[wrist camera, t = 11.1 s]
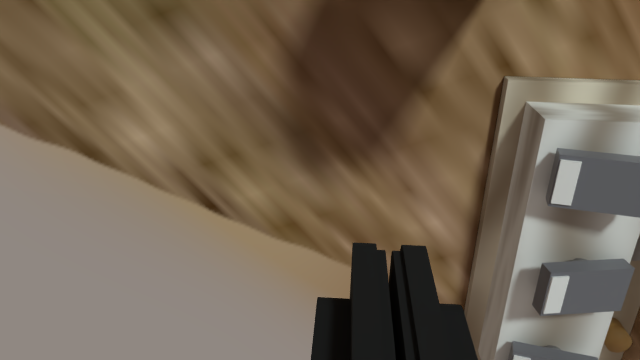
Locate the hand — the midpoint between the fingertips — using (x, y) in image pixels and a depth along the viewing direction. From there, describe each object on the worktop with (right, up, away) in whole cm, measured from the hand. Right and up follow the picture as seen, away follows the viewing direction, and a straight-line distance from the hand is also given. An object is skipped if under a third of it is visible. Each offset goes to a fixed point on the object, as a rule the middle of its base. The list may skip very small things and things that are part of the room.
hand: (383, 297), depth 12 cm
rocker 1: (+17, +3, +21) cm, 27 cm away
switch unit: (+18, -2, +30) cm, 35 cm away
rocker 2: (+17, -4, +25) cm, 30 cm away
